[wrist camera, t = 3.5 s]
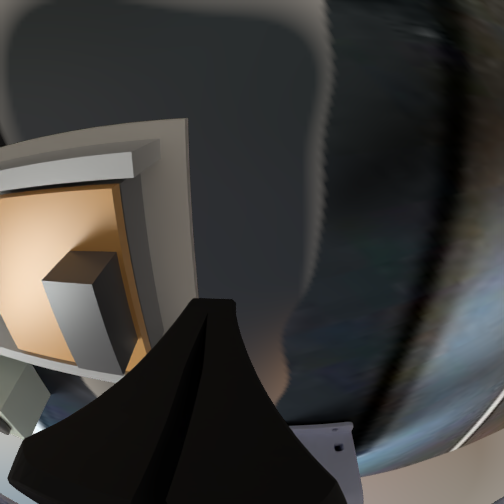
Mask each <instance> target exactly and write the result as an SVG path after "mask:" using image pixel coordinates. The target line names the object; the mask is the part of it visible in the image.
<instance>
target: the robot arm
mask: <svg viewBox="0 0 504 504" xmlns="http://www.w3.org/2000/svg"><path fill="white" fill-rule="evenodd" d="M352 429H353V423H352V422H340V423H329V424H316V425H297V426H288V424H287V423H286V422H285V420H284V419H283V417H282V416H281V415H280V413H279V412H278V410H277V409H276V407H275V406H274V404H273V402H272V401H271V399H270V398H269V396H268V395H267V392H266V391H265V389H264V387H263V385H262V384H261V382H260V380H259V378H258V376H257V374H256V372H255V369H254V367H253V365H252V363H251V361H250V359H249V356H248V354H247V351H246V348H245V345H244V343H243V340H242V337H241V334H240V330H239V326H238V322H237V317H236V303H235V302H234V301H233V300H232V299H205V298H193V299H192V300H191V301H190V302H189V303H188V305H187V306H186V307H185V309H184V310H183V311H182V313H181V314H180V316H179V317H178V318H177V319H176V321H175V322H174V323H173V325H172V326H171V327H170V328H169V329H168V331H167V332H166V333H165V334H164V335H163V337H162V338H161V339H160V340H159V341H158V343H157V344H156V345H155V346H154V347H153V348H152V349H151V350H150V351H149V352H148V353H147V354H146V355H145V357H144V358H143V359H142V360H141V361H140V362H139V363H138V364H137V365H136V366H135V367H134V368H133V369H131V370H130V371H129V372H128V373H127V374H126V375H125V376H124V377H123V378H122V379H120V380H119V381H118V382H117V383H116V384H114V386H112V387H111V388H109V389H108V390H107V391H106V392H104V393H103V394H102V395H101V396H99V397H98V398H96V399H95V400H94V401H92V402H91V403H89V404H88V405H86V406H85V407H83V408H82V409H80V410H78V411H77V412H75V413H74V414H72V415H70V416H69V417H67V418H65V419H64V420H62V421H60V422H58V423H56V424H54V425H52V426H50V427H48V428H46V429H44V430H42V431H40V432H38V433H35V434H33V435H31V436H29V437H26V438H24V440H23V442H22V444H21V446H20V448H19V450H18V453H17V455H16V457H15V460H14V462H13V465H12V467H11V470H10V473H9V475H8V481H9V483H10V484H11V485H12V486H13V487H15V488H16V489H17V490H18V491H20V492H21V493H23V494H24V495H26V496H27V497H29V498H30V499H32V500H33V501H35V502H37V503H38V504H363V490H362V484H361V479H360V473H359V468H358V463H357V457H356V452H355V447H354V443H353V438H352V433H351V431H352ZM0 504H18V503H16V502H14V501H12V500H11V499H9V498H7V497H6V496H4V495H2V494H1V493H0ZM492 504H504V497H502V498H500V499H499V500H497V501H495V502H494V503H492Z"/></svg>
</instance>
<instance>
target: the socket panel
mask: <svg viewBox="0 0 504 504" xmlns="http://www.w3.org/2000/svg"><path fill="white" fill-rule="evenodd" d="M114 183H119V186H120V195H121V202H122V210H123V217H124V223H125V230H126V236H127V242H128V248H129V253H130V259H131V264H132V269H133V274H134V279H135V284H136V288H137V293H138V298H139V302H140V306H141V311H142V315H143V319H144V323H145V327H146V331H147V335H148V339H149V342H150V346H151V349H152V348H153V347H154V346H155V345H156V344H157V343H158V341H159V340H160V339H161V338H162V337H163V335H164V334H165V333H166V332H167V331H168V329H169V328H170V327H171V326H172V325H173V323H174V322H175V321H176V319H177V318H178V317H179V316H180V314H181V313H182V311H183V310H184V309H185V307H186V306H187V305H188V303H189V302H190V301H191V300H192V299H193V298H199V294H198V283H197V272H196V260H195V248H194V234H193V221H192V203H191V186H190V163H189V132H188V118H177V119H162V120H150V121H141V122H130V123H122V124H115V125H106V126H99V127H93V128H86V129H80V130H75V131H69V132H63V133H58V134H53V135H49V136H44V137H39V138H35V139H31V140H26V141H22V142H18V143H14V144H10V145H6V146H3V147H0V195H2V194H9V193H17V192H25V191H33V190H42V189H52V188H62V187H73V186H85V185H99V184H114ZM0 355H3V356H6V357H9V358H12V359H16V360H19V361H22V362H26V363H29V364H33V365H37V366H40V367H44V368H48V369H52V370H56V371H60V372H64V373H69V374H73V375H78V376H82V377H87V378H92V379H98V380H103V381H108V382H114V383H117V382H118V381H119V380H120V379H122V378H123V377H124V376H125V375H126V374H127V373H128V372H129V371H125V373H124V376H121V375H114V374H108V373H102V372H97V371H91V370H86V369H81V368H78V366H77V364H76V362H72V361H67V360H62V359H57V358H53V357H49V356H44V355H40V354H36V353H32V352H28V351H24V350H21V349H18V347H17V345H16V344H15V342H14V340H13V338H12V336H11V334H10V332H9V330H8V328H7V326H6V324H5V322H4V320H3V318H2V316H1V314H0Z"/></svg>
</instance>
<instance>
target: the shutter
mask: <svg viewBox="0 0 504 504" xmlns="http://www.w3.org/2000/svg"><path fill="white" fill-rule="evenodd" d="M0 314H1V316H2V318H3V320H4V322H5V324H6V326H7V328H8V330H9V332H10V334H11V336H12V338H13V340H14V342H15V344H16V345H17V347H18V349H21V350H24V351H28V352H32V353H36V354H40V355H44V356H49V357H53V358H57V359H62V360H67V361H72V362H76V364H77V366H78V368H81V369H86V370H91V371H97V372H102V373H108V374H114V375H121V376H124V373H125V371H130V370H131V369H133V368H134V367H135V366H136V365H137V364H138V363H139V362H140V361H141V360H142V359H143V358H144V357H145V355H146V354H147V353H148V352H149V351H150V350H151V346H150V342H149V339H148V335H147V331H146V327H145V323H144V319H143V315H142V311H141V306H140V302H139V298H138V293H137V288H136V284H135V279H134V274H133V269H132V264H131V259H130V253H129V248H128V242H127V236H126V230H125V223H124V217H123V210H122V202H121V195H120V186H119V183H114V184H99V185H85V186H73V187H62V188H52V189H42V190H33V191H25V192H17V193H9V194H2V195H0Z"/></svg>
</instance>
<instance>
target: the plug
mask: <svg viewBox="0 0 504 504" xmlns="http://www.w3.org/2000/svg"><path fill="white" fill-rule="evenodd" d="M50 395H51V394H50V393H49V391H48V390H47V388H46V386H45V385H44V383H43V382H42V380H41V379H40V377H39V375H38V374H37V372H36V370H35V369H34V367H33V365H32V364H29V363H26V362H22V361H19V360H16V359H12V358H9V357H6V356H3V355H0V432H2V433H4V434H7V435H9V433H10V434H12V435H14V436H16V437H18V438H20V439H23V440H24V438H26V437H29V436H31V435H32V433H33V431H34V428H35V426H36V424H37V422H38V420H39V418H40V415H41V413H42V411H43V409H44V407H45V405H46V403H47V401H48V399H49V397H50Z"/></svg>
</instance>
